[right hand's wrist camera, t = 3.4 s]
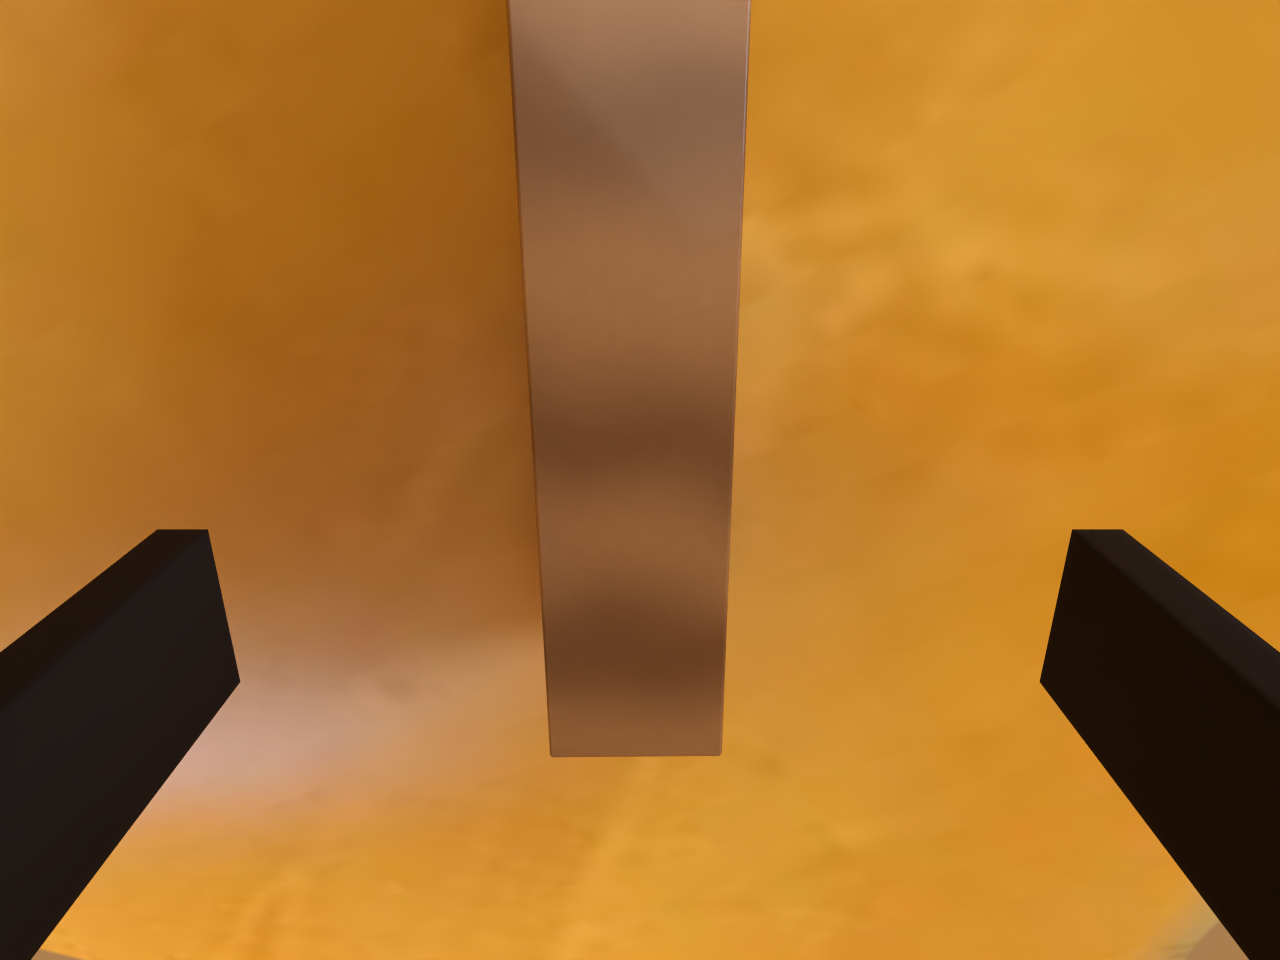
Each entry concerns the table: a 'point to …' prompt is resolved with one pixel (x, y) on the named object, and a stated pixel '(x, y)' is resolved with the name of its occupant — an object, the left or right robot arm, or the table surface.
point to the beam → (632, 355)
